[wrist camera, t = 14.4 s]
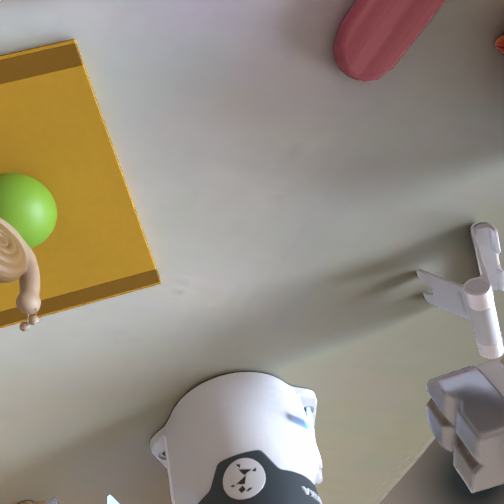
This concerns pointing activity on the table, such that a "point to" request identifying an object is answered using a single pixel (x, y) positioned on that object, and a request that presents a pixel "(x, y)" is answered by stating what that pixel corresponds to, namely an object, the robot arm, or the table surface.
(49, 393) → the table surface
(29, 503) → the grandmother figurine
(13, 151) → the cutting board
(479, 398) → the robot arm
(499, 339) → the tablet stand
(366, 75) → the popsicle
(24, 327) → the snail figurine
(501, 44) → the medicine box
